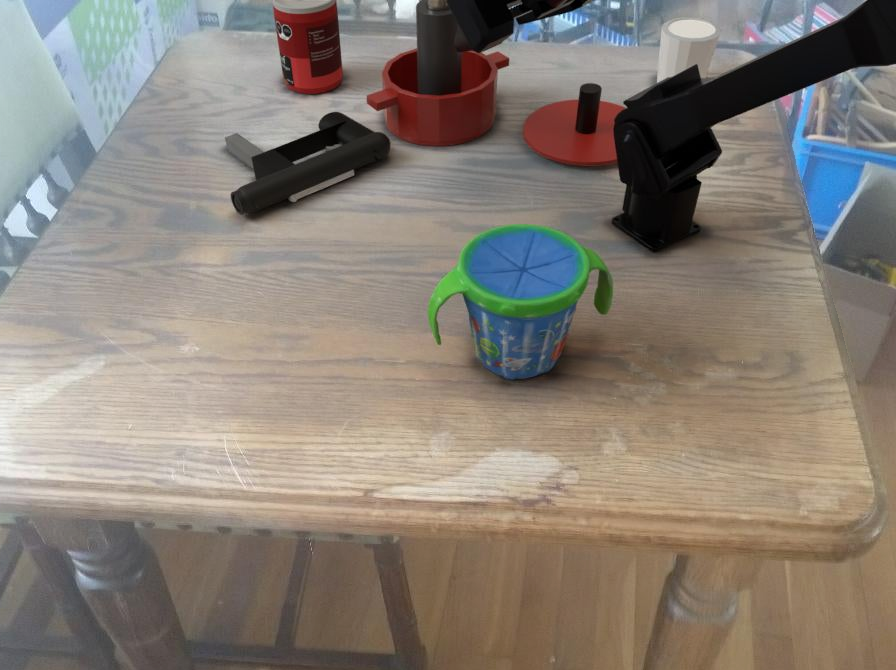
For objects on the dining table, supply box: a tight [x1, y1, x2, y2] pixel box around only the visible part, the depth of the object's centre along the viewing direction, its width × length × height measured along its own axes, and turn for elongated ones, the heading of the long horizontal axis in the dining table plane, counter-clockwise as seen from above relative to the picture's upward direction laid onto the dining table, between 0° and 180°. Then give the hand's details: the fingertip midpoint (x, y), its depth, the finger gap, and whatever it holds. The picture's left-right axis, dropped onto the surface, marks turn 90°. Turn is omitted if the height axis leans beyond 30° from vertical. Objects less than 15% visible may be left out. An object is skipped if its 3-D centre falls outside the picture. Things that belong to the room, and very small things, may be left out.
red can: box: [272, 0, 344, 95], centre depth 110 cm, size 8×8×11 cm
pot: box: [366, 47, 510, 147], centre depth 104 cm, size 13×19×6 cm
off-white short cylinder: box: [656, 16, 722, 83], centre depth 106 cm, size 7×7×7 cm
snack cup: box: [427, 223, 614, 381], centre depth 73 cm, size 16×10×10 cm
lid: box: [522, 82, 626, 167], centre depth 99 cm, size 14×14×6 cm
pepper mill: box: [415, 0, 462, 96], centre depth 100 cm, size 5×5×14 cm
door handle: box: [224, 111, 391, 216], centre depth 99 cm, size 3×20×16 cm
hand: (487, 33), depth 93 cm, fingers open, 9 cm apart
